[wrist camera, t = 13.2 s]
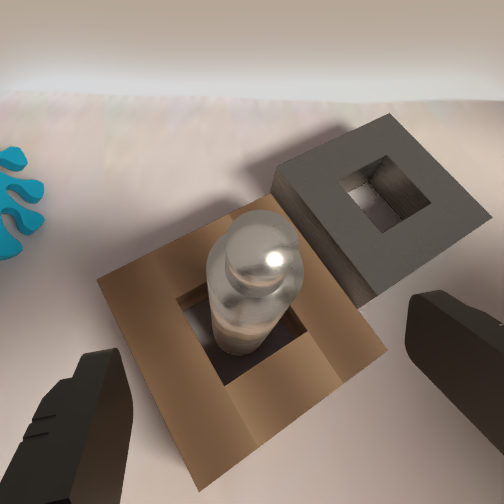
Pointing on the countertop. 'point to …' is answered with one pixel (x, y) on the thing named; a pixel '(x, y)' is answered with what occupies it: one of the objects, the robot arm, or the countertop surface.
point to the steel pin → (252, 279)
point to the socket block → (355, 220)
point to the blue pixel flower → (31, 191)
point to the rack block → (202, 371)
